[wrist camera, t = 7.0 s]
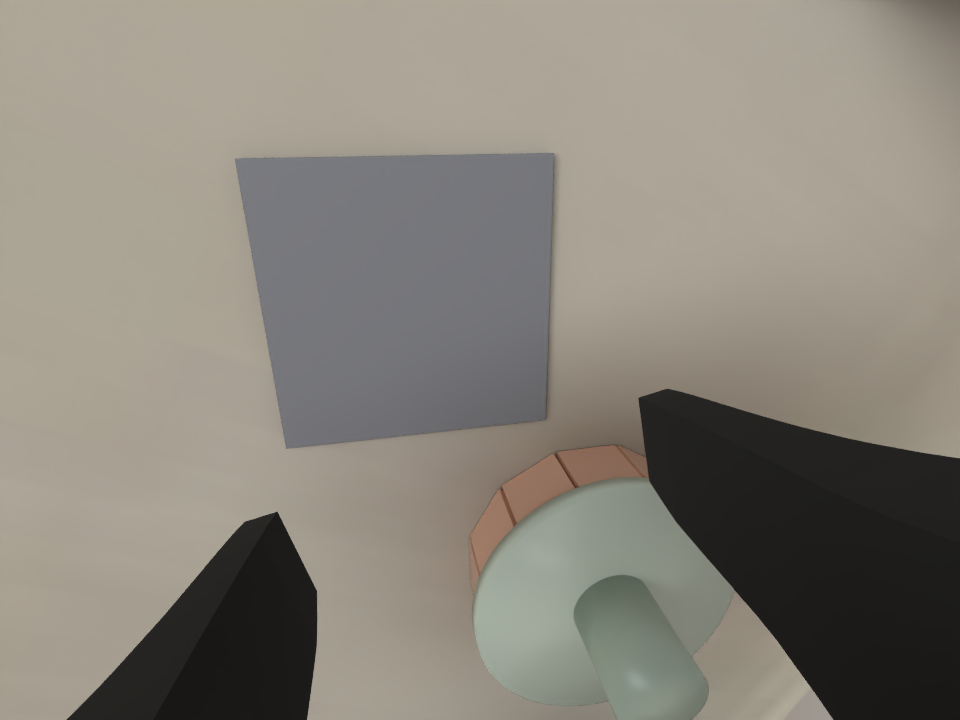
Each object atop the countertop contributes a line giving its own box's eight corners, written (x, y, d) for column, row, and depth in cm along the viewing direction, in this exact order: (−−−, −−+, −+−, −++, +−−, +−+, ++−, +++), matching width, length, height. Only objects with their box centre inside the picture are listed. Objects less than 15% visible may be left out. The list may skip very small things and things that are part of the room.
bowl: (695, 434, 23) (739, 471, 20) (669, 610, 27) (703, 661, 24) (466, 462, 21) (480, 507, 18) (472, 646, 25) (484, 706, 22)
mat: (550, 153, 18) (554, 153, 17) (542, 415, 21) (545, 420, 21) (237, 158, 16) (234, 158, 15) (287, 443, 19) (286, 448, 19)
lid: (677, 425, 19) (769, 505, 15) (754, 604, 23) (842, 707, 19) (419, 575, 19) (433, 699, 15) (544, 724, 23) (583, 854, 19)
